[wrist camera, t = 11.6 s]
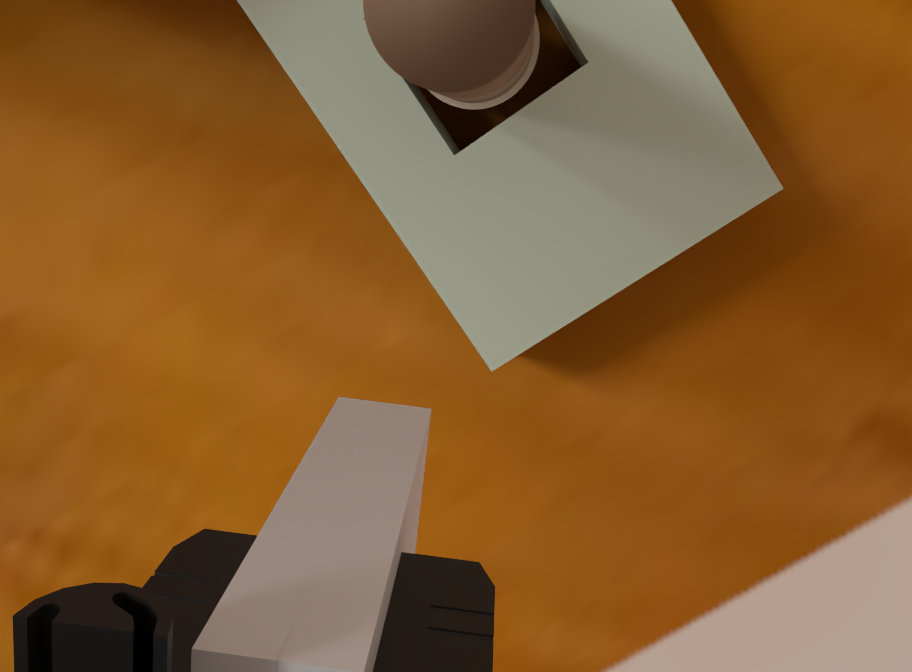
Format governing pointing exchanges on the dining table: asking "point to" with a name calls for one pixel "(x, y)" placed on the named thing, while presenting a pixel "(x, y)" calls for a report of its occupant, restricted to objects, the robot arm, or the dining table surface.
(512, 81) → the peg
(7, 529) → the dining table surface
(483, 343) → the board
